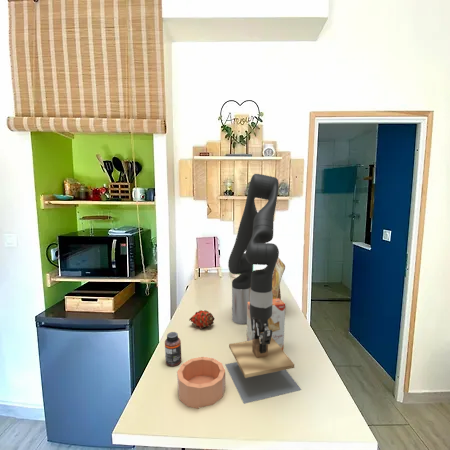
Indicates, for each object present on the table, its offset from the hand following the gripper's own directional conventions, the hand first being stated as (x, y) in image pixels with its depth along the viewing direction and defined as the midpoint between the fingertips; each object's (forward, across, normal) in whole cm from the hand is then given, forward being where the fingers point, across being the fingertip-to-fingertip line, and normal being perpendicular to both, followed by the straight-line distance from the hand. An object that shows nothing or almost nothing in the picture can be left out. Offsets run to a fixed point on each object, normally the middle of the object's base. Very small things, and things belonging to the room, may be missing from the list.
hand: (260, 348), depth 100 cm
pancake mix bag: (+12, -46, +29) cm, 56 cm away
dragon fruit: (+12, -40, -12) cm, 44 cm away
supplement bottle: (+12, -17, -28) cm, 35 cm away
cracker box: (+11, -14, +8) cm, 20 cm away
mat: (+11, 0, 0) cm, 11 cm away
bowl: (+11, +1, -21) cm, 23 cm away
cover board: (+3, 0, 0) cm, 3 cm away
